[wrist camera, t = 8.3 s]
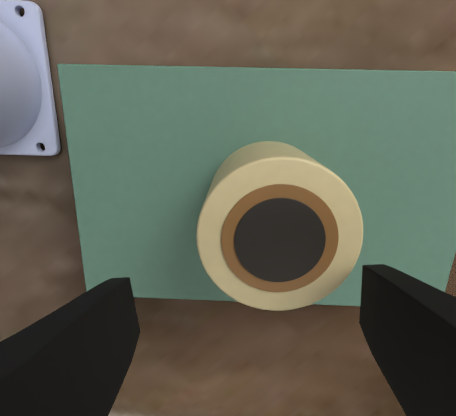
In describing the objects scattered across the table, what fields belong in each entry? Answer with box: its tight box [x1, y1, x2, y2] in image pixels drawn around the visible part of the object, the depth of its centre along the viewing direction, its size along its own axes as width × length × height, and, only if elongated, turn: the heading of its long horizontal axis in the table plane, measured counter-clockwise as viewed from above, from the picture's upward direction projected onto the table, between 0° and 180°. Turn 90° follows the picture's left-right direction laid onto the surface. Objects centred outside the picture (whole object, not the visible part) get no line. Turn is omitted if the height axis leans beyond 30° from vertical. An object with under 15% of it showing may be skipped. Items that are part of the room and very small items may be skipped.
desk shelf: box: [57, 64, 456, 306], centre depth 17 cm, size 18×11×5 cm, turn 89°
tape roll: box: [196, 141, 363, 311], centre depth 12 cm, size 5×5×5 cm
